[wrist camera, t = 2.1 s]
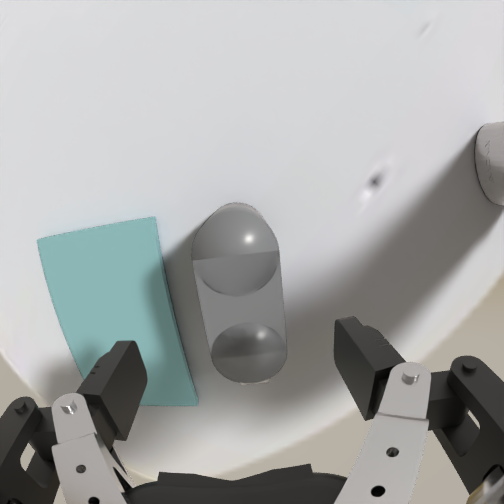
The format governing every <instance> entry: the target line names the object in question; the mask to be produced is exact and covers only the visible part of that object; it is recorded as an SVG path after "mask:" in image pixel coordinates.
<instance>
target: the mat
mask: <svg viewBox="0 0 504 504" xmlns="http://www.w3.org/2000/svg"><path fill="white" fill-rule="evenodd" d="M37 244H38V248H39V253H40V257H41V262H42V266H43V270H44V274H45V278H46V281H47V285H48V288H49V292H50V295H51V298H52V302H53V305H54V308H55V311H56V314H57V317H58V319H59V322H60V325H61V328H62V330H63V333H64V336H65V338H66V341H67V343H68V346H69V348H70V350H71V353H72V355H73V357H74V360H75V362H76V364H77V366H78V369H79V371H80V373H81V375H82V377H83V379H84V380H85V378H86V377H87V375H88V374H90V371H91V369H92V368H94V365H95V363H96V362H97V360H98V359H99V358H100V357H102V356H103V355H104V354H105V353H107V352H109V351H110V350H111V348H112V347H113V346H114V344H115V343H116V341H123V340H134V341H135V342H136V343H137V345H138V348H139V351H140V354H141V357H142V360H143V363H144V365H145V368H146V371H147V377H148V381H147V386H146V388H145V391H144V394H143V396H142V399H141V402H140V404H139V405H148V406H198V398H197V395H196V392H195V388H194V385H193V382H192V379H191V375H190V372H189V368H188V365H187V361H186V358H185V354H184V351H183V347H182V343H181V339H180V336H179V332H178V328H177V324H176V320H175V315H174V311H173V307H172V303H171V298H170V294H169V289H168V284H167V280H166V275H165V270H164V265H163V259H162V254H161V249H160V243H159V237H158V231H157V225H156V219H155V217H149V218H143V219H137V220H131V221H126V222H120V223H114V224H109V225H103V226H98V227H93V228H88V229H83V230H78V231H73V232H68V233H63V234H59V235H54V236H50V237H45V238H41V239H38V240H37Z"/></svg>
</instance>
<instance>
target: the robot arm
mask: <svg viewBox="0 0 504 504" xmlns="http://www.w3.org/2000/svg"><path fill="white" fill-rule="evenodd" d="M475 161H476V168H477V173H478V178H479V181H480V184H481V187H482V189H483V191H484V193H485V195H486V196H487V197H488V199H489V200H490V201H492V202H493V203H495V204H497V205H502V206H504V122H497V123H489V124H486V125H484V126H483V127H482V128H481V129H480V131H479V133H478V136H477V140H476V146H475ZM334 360H335V364H336V367H337V368H338V370H339V372H340V374H341V376H342V378H343V380H344V382H345V384H346V385H347V387H348V389H349V391H350V393H351V395H352V397H353V399H354V401H355V402H356V404H357V406H358V408H359V410H360V412H361V414H362V416H363V418H364V420H365V421H367V420H370V419H373V418H374V420H373V422H372V425H371V428H370V430H369V433H368V435H367V437H366V440H365V442H364V445H363V447H362V449H361V452H360V454H359V456H358V458H357V460H356V462H355V465H354V467H353V469H352V471H351V473H350V475H349V477H348V478H346V477H343V476H339V475H335V474H328V473H313V472H312V469H311V464H306V465H300V466H295V467H288V468H281V469H274V470H270V471H267V472H264V473H261V474H257V475H254V476H250V477H247V478H243V479H240V480H235V481H229V480H222V479H217V478H212V477H207V476H202V475H197V474H185V473H167V472H159V476H158V481H154V482H150V483H145V484H142V485H139V486H136V485H135V483H134V482H133V480H132V478H131V477H130V475H129V473H128V471H127V470H126V468H125V466H124V464H123V462H122V460H121V458H120V456H119V455H118V453H117V451H116V449H115V447H114V446H113V443H114V440H122V441H126V440H127V437H128V435H129V432H130V429H131V426H132V423H133V421H134V418H135V415H136V412H137V410H138V407H139V404H140V402H141V399H142V396H143V394H144V391H145V388H146V386H147V381H148V377H147V371H146V368H145V365H144V363H143V360H142V357H141V354H140V351H139V348H138V345H137V343H136V342H135V341H134V340H123V341H116V343H115V344H114V346H113V347H112V348H111V350H110V351H109V352H107V353H105V354H104V355H103V356H102V357H100V358H99V359H98V360H97V362H96V363H95V365H94V368H92V369H91V371H90V374H88V375H87V377H86V378H85V380H84V381H83V383H82V384H81V386H80V387H79V389H78V390H77V392H76V393H68V394H65V395H62V396H60V397H59V398H58V399H56V400H55V402H54V403H53V405H52V407H46V408H38V406H37V404H36V403H35V401H34V400H33V399H32V398H30V397H20V398H18V399H16V400H14V401H13V402H12V403H11V404H10V405H9V407H8V408H7V409H6V411H5V412H4V414H3V415H2V416H1V418H0V504H53V502H54V499H55V496H56V493H57V490H58V488H59V485H60V484H61V488H62V491H63V494H64V497H65V500H66V503H67V504H409V501H410V498H411V495H412V492H413V489H414V485H415V482H416V479H417V475H418V472H419V467H420V464H421V459H422V455H423V451H424V446H425V442H426V436H427V431H429V430H433V432H434V434H435V435H436V437H437V439H438V440H439V442H440V443H441V445H442V447H443V449H444V450H445V452H446V454H447V455H448V457H449V459H450V460H451V462H452V464H453V465H454V467H455V469H456V471H457V473H458V474H459V476H460V478H461V480H462V482H463V483H464V485H465V487H466V489H467V491H468V493H469V495H470V496H469V498H468V500H467V503H466V504H504V382H503V381H502V380H501V379H500V378H499V377H498V376H497V375H496V374H495V373H494V372H493V371H492V370H491V369H490V368H489V367H488V366H487V365H486V364H485V363H484V362H482V361H481V360H480V359H478V358H476V357H473V356H460V357H458V358H456V359H455V360H454V361H453V362H452V365H451V368H450V370H449V371H442V372H434V373H430V371H429V370H428V369H427V368H426V367H425V366H423V365H421V364H419V363H414V362H406V361H405V360H404V359H403V358H402V357H401V355H400V354H399V353H398V352H397V351H396V350H395V349H394V348H393V347H392V345H391V344H390V345H389V342H388V341H387V340H386V339H384V337H383V336H382V334H381V333H380V332H379V331H378V330H376V329H374V328H372V327H370V326H364V327H363V325H362V324H361V323H360V322H359V321H358V320H357V318H356V317H354V316H353V317H348V318H342V319H337V320H336V321H335V332H334ZM469 410H470V411H471V412H472V414H473V415H474V416H475V418H476V419H477V420H478V422H479V424H480V429H479V428H478V427H477V425H476V424H475V423H474V421H473V420H472V419H471V417H470V416H469V415H468V411H469ZM28 443H29V444H30V445H31V446H32V448H33V449H34V450H35V453H34V455H33V457H32V459H31V462H30V464H29V466H28V468H27V470H26V471H25V470H24V469H23V468H22V467H21V464H20V458H21V455H22V453H23V451H24V449H25V447H26V446H27V444H28Z"/></svg>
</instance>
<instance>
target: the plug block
mask: <svg viewBox="0 0 504 504" xmlns="http://www.w3.org/2000/svg"><path fill="white" fill-rule="evenodd" d="M192 263H193V269H194V275H195V280H196V286H197V291H198V296H199V301H200V307H201V312H202V317H203V321H204V326H205V331H206V336H207V340H208V345H209V349H210V354H211V358H212V362H213V364H214V366H215V368H216V369H217V370H218V371H219V373H221V374H222V375H223V376H224V377H226V378H228V379H230V380H232V381H235V382H239V383H240V385H248V384H258V383H266V382H269V378H271V377H272V376H274V375H275V374H276V373H278V372H279V371H280V369H281V368H282V367H283V365H284V363H285V361H286V357H287V344H286V329H285V315H284V302H283V289H282V277H281V266H280V254H279V246H278V242H277V239H276V237H275V235H274V233H273V231H272V230H271V228H270V227H269V226H268V224H267V223H266V221H265V220H264V218H263V217H262V216H261V214H260V213H259V212H258V211H257V210H256V209H255V208H253V207H252V206H250V205H247V204H244V203H229V204H226V205H224V206H222V207H220V208H219V209H218V210H217V211H215V213H214V214H213V215H212V216H211V217H210V218H209V219H208V220H207V221H206V222H205V223H204V225H203V226H202V227H201V228H200V229H199V231H198V232H197V234H196V236H195V238H194V241H193V245H192Z"/></svg>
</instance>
